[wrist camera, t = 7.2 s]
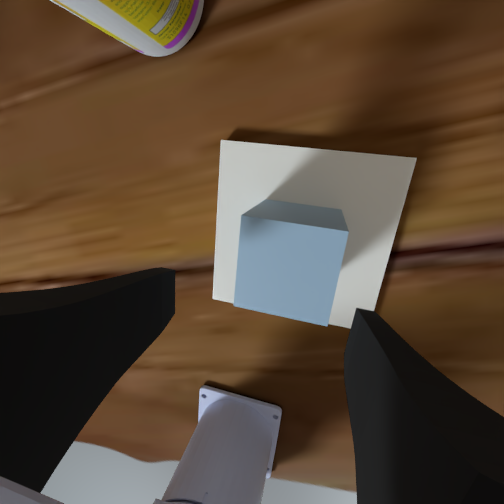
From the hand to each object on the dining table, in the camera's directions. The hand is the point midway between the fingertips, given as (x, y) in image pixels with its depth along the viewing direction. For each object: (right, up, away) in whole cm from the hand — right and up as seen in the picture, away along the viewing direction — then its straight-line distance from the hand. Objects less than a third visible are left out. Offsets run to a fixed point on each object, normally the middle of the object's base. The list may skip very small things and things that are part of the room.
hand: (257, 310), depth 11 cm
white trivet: (+3, +3, +9) cm, 10 cm away
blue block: (+3, +3, +8) cm, 9 cm away
